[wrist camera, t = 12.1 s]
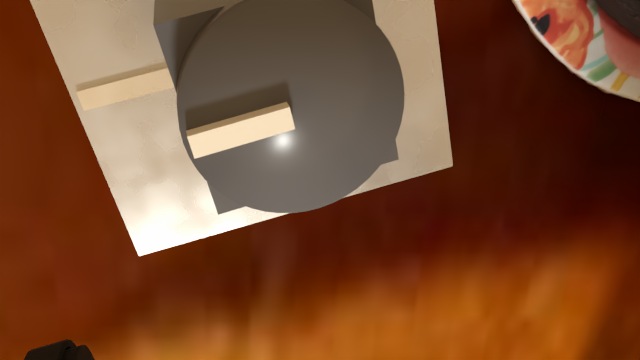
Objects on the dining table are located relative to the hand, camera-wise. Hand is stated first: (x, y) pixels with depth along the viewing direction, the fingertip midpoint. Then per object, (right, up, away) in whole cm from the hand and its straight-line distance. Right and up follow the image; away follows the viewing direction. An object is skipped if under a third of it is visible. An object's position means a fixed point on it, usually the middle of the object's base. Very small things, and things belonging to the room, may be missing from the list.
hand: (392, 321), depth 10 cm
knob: (-4, +7, +14) cm, 17 cm away
